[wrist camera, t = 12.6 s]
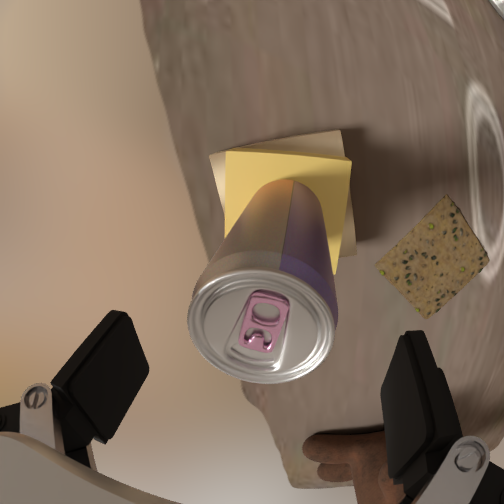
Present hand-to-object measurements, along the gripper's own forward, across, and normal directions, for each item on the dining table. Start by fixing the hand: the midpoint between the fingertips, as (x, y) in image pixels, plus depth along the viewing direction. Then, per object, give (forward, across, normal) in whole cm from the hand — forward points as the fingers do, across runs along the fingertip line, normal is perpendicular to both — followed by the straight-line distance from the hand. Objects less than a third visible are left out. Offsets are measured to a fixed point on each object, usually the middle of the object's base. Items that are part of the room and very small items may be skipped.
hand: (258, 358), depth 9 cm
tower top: (+19, +1, +1) cm, 19 cm away
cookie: (+23, -17, +8) cm, 30 cm away
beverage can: (+16, 0, 0) cm, 16 cm away
